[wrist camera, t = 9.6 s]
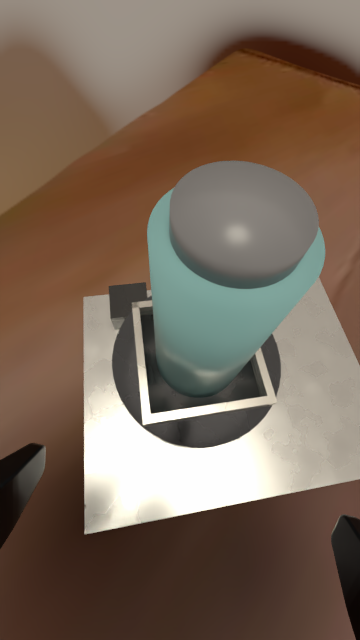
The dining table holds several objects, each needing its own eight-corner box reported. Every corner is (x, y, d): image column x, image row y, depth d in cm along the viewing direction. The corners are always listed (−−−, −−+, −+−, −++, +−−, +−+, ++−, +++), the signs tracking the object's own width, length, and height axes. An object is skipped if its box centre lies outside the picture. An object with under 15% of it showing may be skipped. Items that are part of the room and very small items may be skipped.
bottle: (253, 374, 19) (385, 245, 8) (179, 413, 18) (207, 325, 6) (212, 309, 22) (267, 132, 10) (143, 339, 20) (115, 174, 9)
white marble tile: (396, 469, 20) (457, 471, 16) (88, 530, 18) (65, 552, 14) (311, 278, 28) (337, 246, 24) (86, 302, 25) (71, 271, 21)
